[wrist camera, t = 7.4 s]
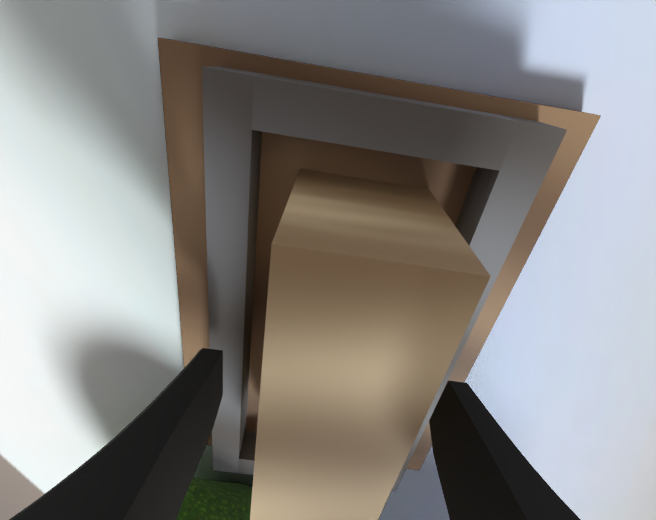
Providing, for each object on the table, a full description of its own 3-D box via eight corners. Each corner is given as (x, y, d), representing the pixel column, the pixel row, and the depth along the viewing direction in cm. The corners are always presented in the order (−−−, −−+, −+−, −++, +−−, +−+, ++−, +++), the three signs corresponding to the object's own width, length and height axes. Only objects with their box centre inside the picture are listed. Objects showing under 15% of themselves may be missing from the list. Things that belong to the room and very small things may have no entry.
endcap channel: (416, 455, 19) (425, 499, 17) (196, 428, 18) (179, 471, 16) (583, 112, 10) (639, 123, 8) (171, 39, 10) (128, 33, 8)
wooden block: (355, 427, 17) (360, 557, 12) (272, 417, 16) (247, 545, 12) (428, 188, 11) (490, 276, 6) (300, 168, 10) (271, 244, 6)
